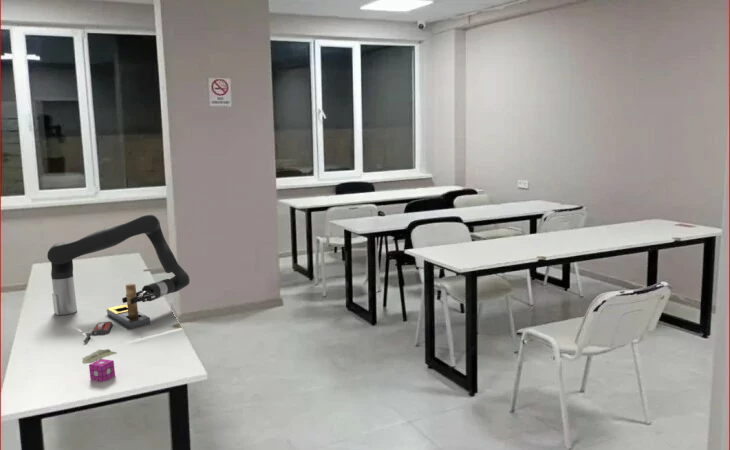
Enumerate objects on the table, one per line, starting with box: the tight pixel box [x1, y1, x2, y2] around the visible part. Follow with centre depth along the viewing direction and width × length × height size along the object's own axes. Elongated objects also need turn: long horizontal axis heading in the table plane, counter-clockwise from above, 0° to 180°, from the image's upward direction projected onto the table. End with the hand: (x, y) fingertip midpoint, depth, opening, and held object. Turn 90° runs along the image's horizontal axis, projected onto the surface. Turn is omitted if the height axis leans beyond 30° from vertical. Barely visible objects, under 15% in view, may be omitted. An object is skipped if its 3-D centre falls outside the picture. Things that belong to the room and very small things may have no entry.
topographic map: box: [81, 348, 117, 364], centre depth 232 cm, size 14×14×2 cm
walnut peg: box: [125, 283, 139, 319], centre depth 268 cm, size 4×4×16 cm
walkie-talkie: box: [83, 321, 113, 343], centre depth 259 cm, size 9×4×20 cm
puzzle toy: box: [88, 358, 116, 383], centre depth 213 cm, size 6×6×6 cm
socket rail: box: [105, 303, 154, 331], centre depth 275 cm, size 11×28×4 cm, turn 42°
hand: (127, 301), depth 266 cm, fingers closed on walnut peg, 4 cm apart
